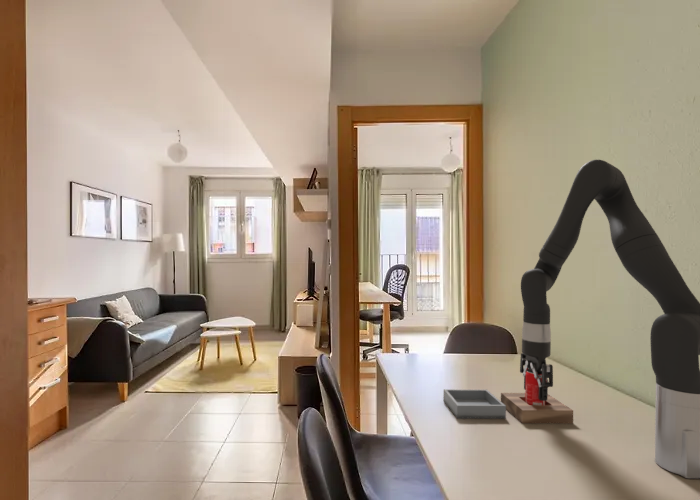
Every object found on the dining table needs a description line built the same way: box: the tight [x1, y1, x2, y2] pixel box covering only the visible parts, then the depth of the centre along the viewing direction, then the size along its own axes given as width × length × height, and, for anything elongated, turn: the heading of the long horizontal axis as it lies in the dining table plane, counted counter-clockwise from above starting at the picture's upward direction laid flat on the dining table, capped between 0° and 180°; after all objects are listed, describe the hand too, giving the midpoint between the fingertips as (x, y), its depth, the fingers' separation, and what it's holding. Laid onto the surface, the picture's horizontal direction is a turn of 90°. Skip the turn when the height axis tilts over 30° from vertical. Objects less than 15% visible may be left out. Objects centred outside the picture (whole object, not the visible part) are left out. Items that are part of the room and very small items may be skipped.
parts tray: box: [442, 388, 507, 420], centre depth 120 cm, size 14×14×4 cm
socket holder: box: [500, 392, 574, 424], centre depth 117 cm, size 14×14×4 cm
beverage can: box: [524, 369, 545, 405], centre depth 117 cm, size 5×5×12 cm
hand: (535, 395), depth 118 cm, fingers open, 8 cm apart
